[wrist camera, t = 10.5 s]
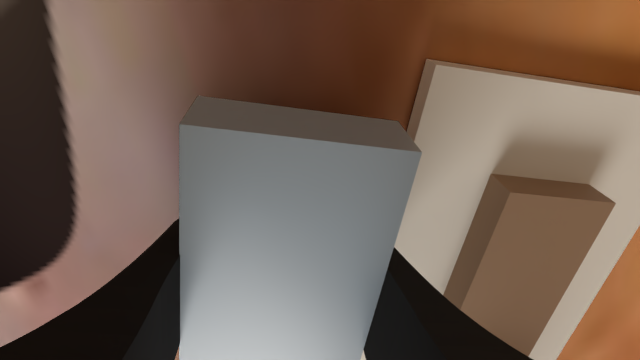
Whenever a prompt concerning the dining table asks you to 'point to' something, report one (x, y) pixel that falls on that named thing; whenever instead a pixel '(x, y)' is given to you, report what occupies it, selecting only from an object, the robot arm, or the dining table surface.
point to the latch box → (520, 197)
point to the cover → (285, 228)
